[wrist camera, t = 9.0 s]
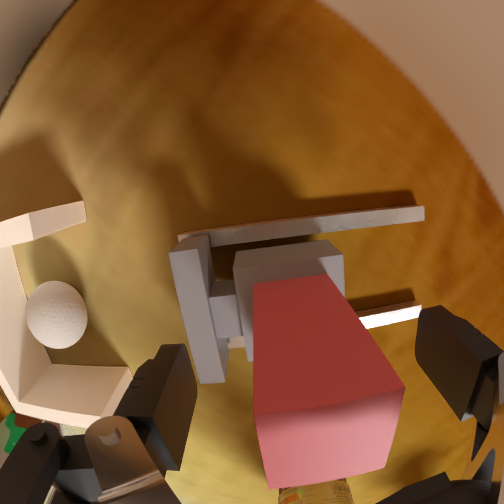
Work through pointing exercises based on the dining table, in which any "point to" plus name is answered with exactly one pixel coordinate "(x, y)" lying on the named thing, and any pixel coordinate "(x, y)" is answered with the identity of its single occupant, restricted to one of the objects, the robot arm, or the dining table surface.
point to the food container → (19, 435)
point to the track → (322, 225)
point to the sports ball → (56, 314)
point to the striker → (293, 357)
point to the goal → (34, 353)
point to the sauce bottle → (317, 493)
